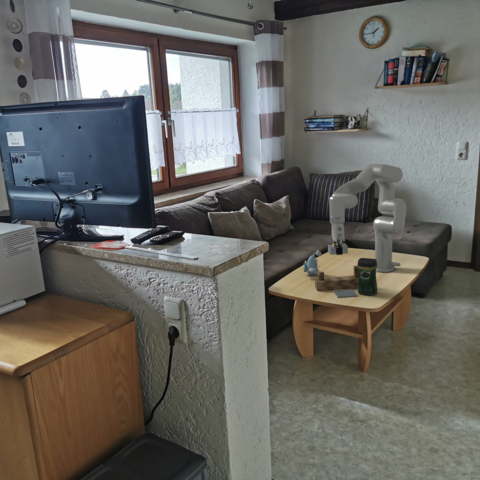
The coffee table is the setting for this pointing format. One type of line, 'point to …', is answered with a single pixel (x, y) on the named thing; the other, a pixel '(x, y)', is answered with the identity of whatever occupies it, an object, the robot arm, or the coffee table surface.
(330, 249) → the lever cap
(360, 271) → the coffee jar
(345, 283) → the brown long u-shaped block
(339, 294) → the mat
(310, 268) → the toy figure
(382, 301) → the coffee table surface
